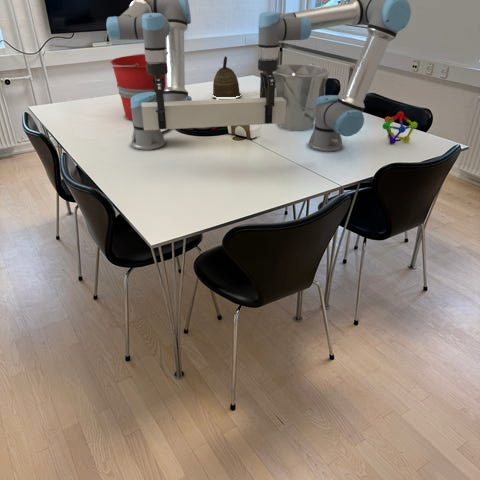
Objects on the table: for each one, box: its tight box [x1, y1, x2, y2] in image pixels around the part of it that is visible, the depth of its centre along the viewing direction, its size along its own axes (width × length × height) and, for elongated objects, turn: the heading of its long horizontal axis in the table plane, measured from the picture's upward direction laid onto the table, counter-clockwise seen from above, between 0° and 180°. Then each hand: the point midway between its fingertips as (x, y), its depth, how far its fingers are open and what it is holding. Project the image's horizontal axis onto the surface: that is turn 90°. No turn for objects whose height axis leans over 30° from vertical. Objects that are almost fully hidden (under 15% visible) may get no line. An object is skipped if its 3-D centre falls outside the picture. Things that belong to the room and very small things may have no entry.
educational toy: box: [382, 110, 418, 145], centre depth 207 cm, size 16×13×15 cm
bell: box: [212, 56, 242, 97], centre depth 278 cm, size 19×26×20 cm
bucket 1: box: [107, 53, 165, 122], centre depth 239 cm, size 35×35×30 cm
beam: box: [141, 97, 286, 131], centre depth 171 cm, size 55×6×9 cm, turn 101°
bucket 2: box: [273, 63, 330, 131], centre depth 226 cm, size 30×30×28 cm
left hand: (162, 125), depth 170 cm, fingers closed on beam, 6 cm apart
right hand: (266, 120), depth 176 cm, fingers closed on beam, 6 cm apart
